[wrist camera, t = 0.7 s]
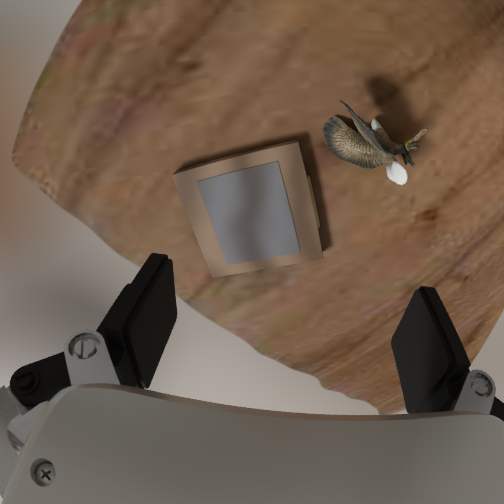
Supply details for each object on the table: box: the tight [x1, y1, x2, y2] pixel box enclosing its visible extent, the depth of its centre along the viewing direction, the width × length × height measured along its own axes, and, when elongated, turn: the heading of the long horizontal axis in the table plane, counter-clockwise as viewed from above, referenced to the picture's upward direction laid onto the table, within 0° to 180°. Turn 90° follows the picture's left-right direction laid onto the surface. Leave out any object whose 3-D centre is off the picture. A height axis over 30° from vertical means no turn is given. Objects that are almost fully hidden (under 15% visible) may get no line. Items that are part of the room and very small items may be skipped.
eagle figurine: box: [322, 100, 428, 185], centre depth 27 cm, size 8×7×9 cm
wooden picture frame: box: [172, 140, 323, 277], centre depth 35 cm, size 14×14×2 cm
